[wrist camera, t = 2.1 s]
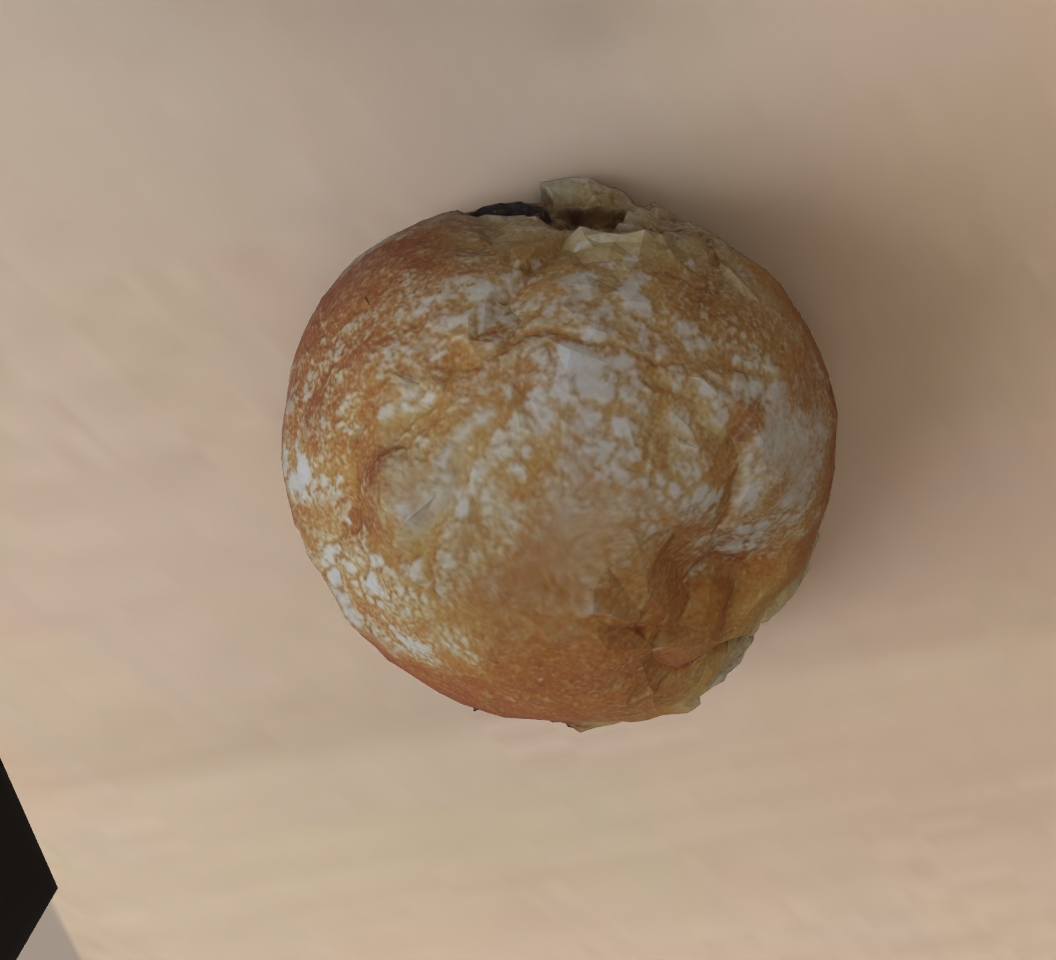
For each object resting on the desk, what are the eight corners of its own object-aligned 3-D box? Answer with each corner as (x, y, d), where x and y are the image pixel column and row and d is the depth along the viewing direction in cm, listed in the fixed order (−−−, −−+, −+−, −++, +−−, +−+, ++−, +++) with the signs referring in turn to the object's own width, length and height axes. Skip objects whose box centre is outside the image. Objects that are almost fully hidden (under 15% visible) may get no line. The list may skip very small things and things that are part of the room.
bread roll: (748, 214, 22) (830, 24, 14) (840, 668, 21) (983, 750, 13) (323, 300, 22) (163, 169, 14) (397, 742, 22) (272, 864, 14)
